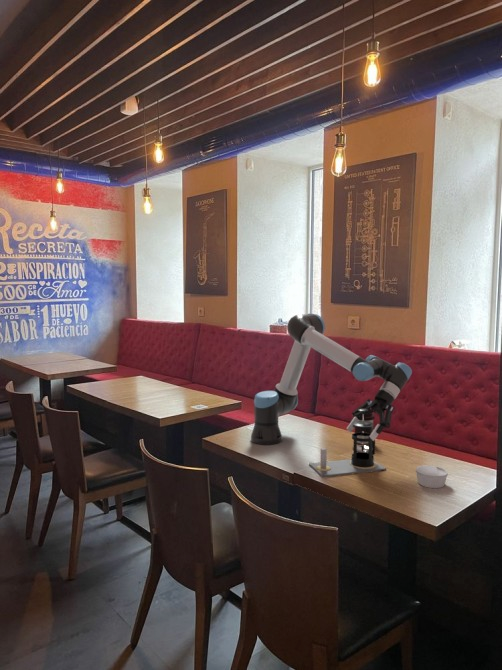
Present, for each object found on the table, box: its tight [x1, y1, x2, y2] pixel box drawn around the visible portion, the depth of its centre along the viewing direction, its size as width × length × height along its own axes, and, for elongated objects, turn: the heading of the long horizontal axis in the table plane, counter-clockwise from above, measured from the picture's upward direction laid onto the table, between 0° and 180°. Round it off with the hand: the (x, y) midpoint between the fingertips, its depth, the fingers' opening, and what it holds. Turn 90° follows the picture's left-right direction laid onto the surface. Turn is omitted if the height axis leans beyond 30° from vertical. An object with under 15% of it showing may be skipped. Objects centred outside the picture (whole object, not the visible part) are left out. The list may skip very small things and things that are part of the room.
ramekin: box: [415, 465, 448, 489], centre depth 185 cm, size 11×11×5 cm
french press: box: [351, 409, 376, 468], centre depth 204 cm, size 12×9×23 cm
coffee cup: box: [352, 413, 376, 445], centre depth 236 cm, size 10×10×15 cm
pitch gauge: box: [308, 447, 387, 478], centre depth 202 cm, size 14×28×9 cm, turn 105°
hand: (359, 434), depth 202 cm, fingers open, 13 cm apart
